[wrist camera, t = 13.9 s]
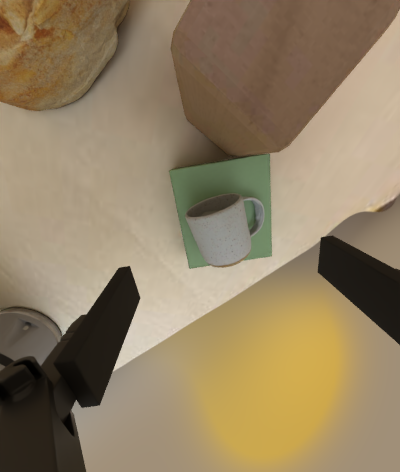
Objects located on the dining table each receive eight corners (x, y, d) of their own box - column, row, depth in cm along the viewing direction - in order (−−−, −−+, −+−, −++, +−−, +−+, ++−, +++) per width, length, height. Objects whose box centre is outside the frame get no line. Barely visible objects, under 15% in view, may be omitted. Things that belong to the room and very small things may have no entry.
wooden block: (274, 102, 29) (420, -2, 10) (231, 159, 32) (284, 157, 13) (224, 50, 26) (295, -213, 8) (182, 116, 29) (161, 39, 11)
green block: (190, 252, 38) (189, 268, 32) (173, 168, 32) (169, 170, 26) (260, 242, 37) (272, 256, 32) (256, 154, 31) (269, 153, 26)
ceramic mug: (203, 252, 31) (207, 280, 24) (185, 206, 28) (183, 222, 21) (266, 230, 30) (289, 252, 23) (253, 180, 27) (276, 187, 20)
